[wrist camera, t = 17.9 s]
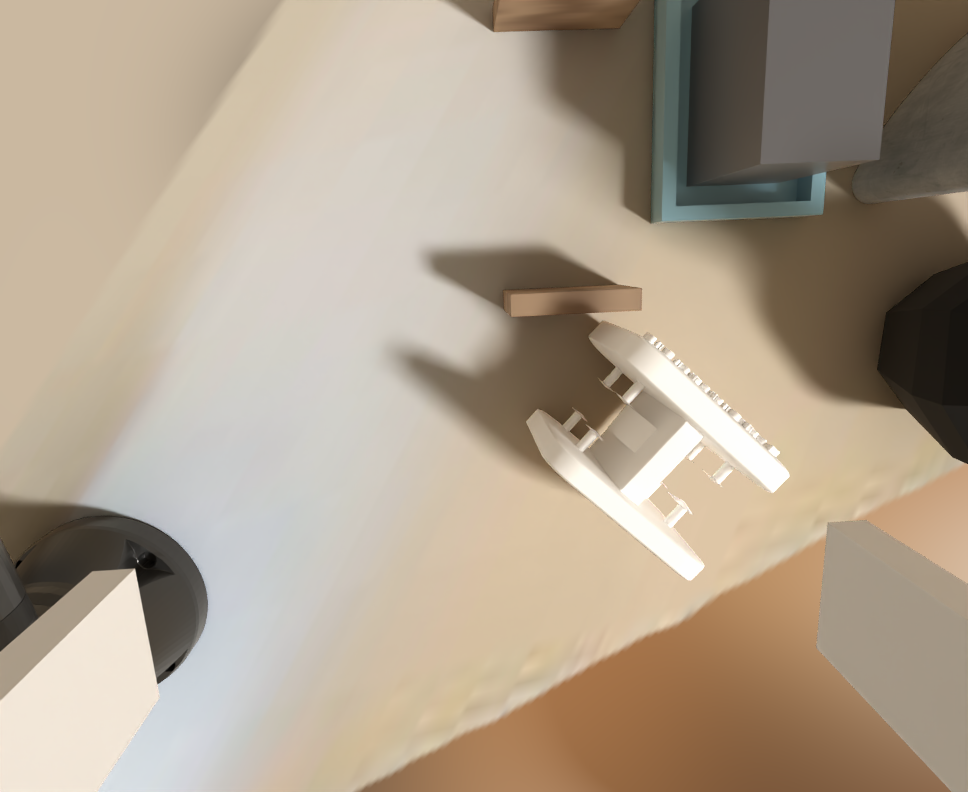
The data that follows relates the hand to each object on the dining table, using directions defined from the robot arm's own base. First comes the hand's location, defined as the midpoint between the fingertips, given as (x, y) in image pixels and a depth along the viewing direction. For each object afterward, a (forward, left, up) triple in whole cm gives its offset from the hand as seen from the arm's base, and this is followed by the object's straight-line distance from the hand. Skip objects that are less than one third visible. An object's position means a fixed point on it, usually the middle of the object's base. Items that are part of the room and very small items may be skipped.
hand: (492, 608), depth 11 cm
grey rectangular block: (+21, +17, -36) cm, 45 cm away
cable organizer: (+13, -7, -37) cm, 40 cm away
